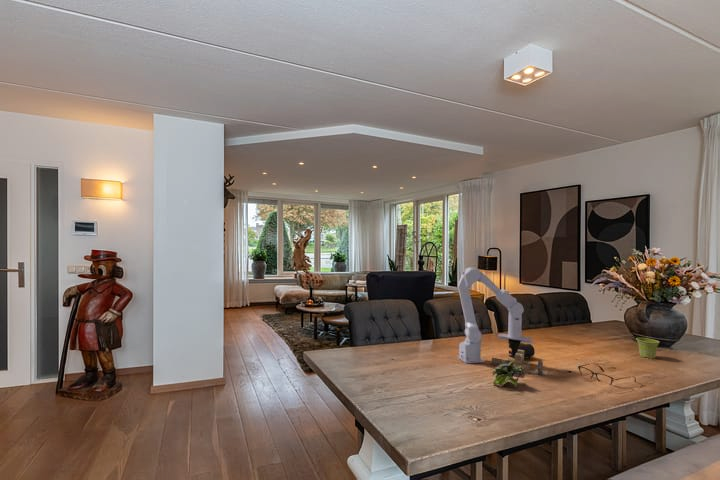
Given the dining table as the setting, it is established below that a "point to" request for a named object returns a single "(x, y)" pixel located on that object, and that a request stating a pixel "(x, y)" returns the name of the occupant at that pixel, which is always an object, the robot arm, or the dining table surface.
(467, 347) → the robot arm
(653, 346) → the plant pot
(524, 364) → the stool base
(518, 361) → the hinged leg
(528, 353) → the end cap
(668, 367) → the dining table surface
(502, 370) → the leafy green plant
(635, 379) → the eyeglasses
